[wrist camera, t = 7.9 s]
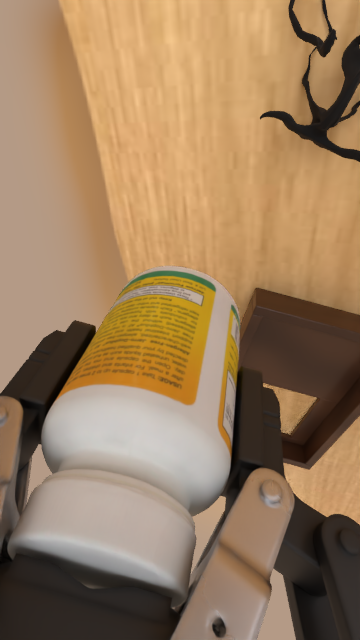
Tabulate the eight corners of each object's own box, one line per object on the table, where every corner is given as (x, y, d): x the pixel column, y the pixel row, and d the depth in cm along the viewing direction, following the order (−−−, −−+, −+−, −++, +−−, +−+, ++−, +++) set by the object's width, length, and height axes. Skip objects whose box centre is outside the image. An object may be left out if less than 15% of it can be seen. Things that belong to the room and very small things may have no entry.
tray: (255, 287, 25) (255, 305, 23) (408, 328, 25) (421, 350, 23) (201, 419, 37) (198, 439, 35) (306, 448, 36) (309, 469, 34)
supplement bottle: (266, 326, 14) (278, 624, 7) (176, 374, 17) (114, 621, 9) (180, 232, 12) (62, 501, 5) (96, 303, 15) (-62, 543, 8)
